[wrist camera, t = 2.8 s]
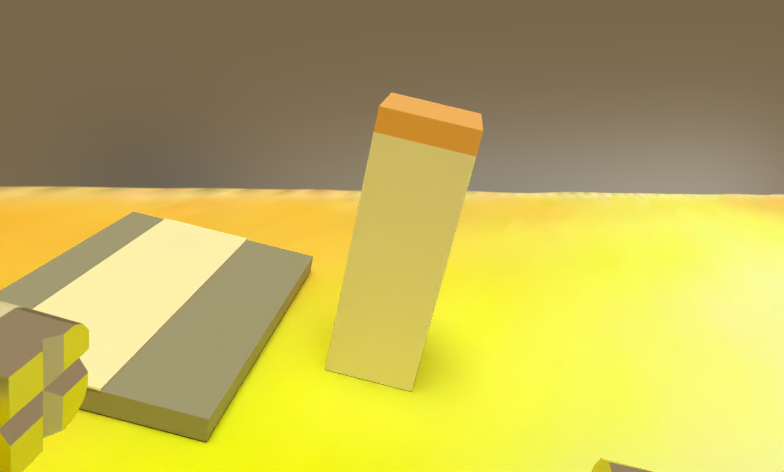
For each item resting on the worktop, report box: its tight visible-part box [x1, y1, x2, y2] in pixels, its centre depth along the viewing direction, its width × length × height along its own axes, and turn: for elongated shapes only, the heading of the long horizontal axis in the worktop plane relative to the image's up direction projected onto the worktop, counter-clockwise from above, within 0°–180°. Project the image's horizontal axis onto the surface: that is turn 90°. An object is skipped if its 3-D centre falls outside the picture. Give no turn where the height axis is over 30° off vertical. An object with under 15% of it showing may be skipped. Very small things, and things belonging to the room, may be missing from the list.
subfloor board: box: [0, 212, 313, 442], centre depth 28 cm, size 11×15×1 cm
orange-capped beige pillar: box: [325, 93, 483, 392], centre depth 26 cm, size 4×4×12 cm
